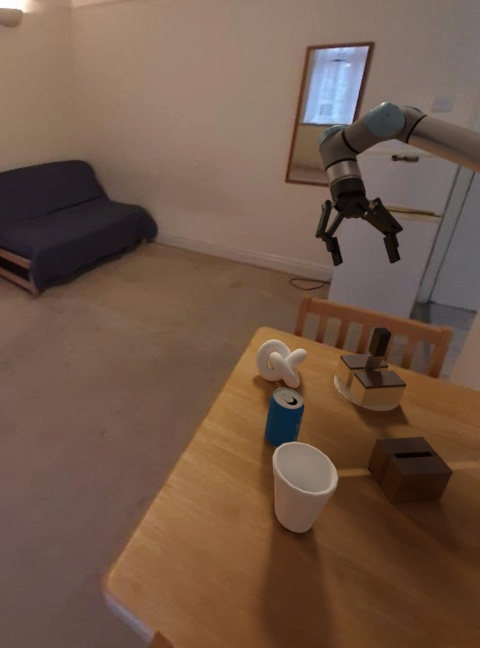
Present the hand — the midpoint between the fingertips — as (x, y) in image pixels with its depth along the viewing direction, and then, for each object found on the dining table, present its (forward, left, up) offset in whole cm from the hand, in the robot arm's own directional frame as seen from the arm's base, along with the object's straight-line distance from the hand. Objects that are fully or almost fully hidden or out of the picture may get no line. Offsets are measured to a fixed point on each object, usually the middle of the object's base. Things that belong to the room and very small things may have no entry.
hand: (367, 263), depth 95 cm
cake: (-5, +9, -29) cm, 31 cm away
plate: (-5, +9, -30) cm, 31 cm away
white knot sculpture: (+15, +12, -30) cm, 36 cm away
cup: (+8, +48, -30) cm, 57 cm away
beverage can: (+12, +32, -30) cm, 46 cm away
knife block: (-10, +33, -30) cm, 46 cm away
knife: (-5, +9, -29) cm, 31 cm away
